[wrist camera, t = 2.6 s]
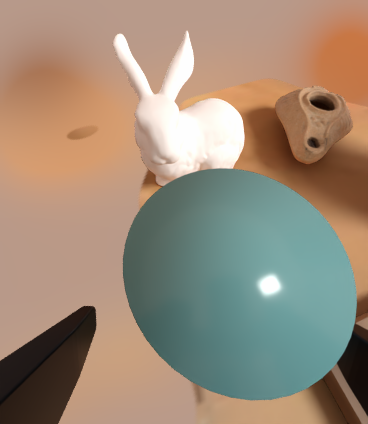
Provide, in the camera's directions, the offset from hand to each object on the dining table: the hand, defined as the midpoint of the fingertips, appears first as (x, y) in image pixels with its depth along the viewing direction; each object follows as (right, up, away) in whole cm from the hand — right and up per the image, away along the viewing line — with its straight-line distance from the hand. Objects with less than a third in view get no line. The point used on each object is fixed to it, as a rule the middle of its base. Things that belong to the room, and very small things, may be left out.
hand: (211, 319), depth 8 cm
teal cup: (0, -4, +8) cm, 9 cm away
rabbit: (-1, +8, +16) cm, 18 cm away
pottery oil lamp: (+14, +13, +20) cm, 27 cm away
